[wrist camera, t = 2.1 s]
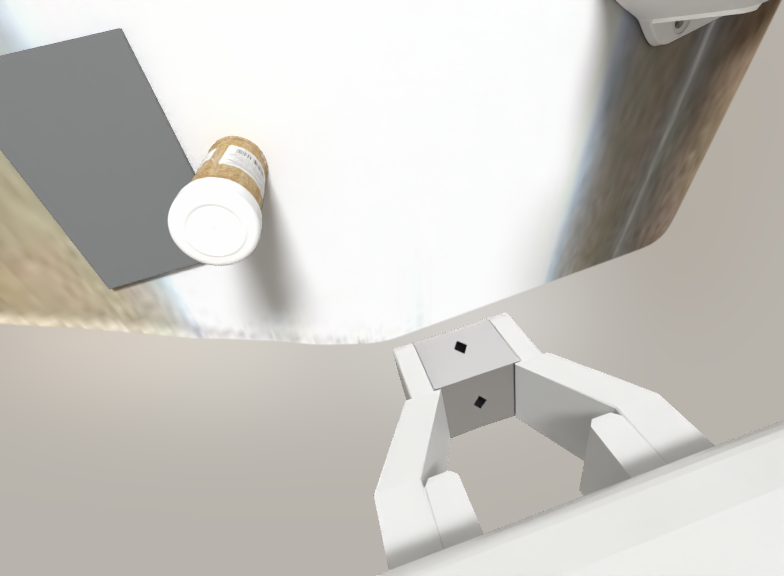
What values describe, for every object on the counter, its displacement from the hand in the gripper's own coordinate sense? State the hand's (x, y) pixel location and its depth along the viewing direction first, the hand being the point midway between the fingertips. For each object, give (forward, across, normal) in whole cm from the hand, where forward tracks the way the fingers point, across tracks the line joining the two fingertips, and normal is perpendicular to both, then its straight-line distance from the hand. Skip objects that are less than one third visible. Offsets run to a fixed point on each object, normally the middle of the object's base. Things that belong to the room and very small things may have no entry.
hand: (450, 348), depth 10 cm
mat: (+27, +17, -2) cm, 32 cm away
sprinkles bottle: (+27, +8, 0) cm, 28 cm away
